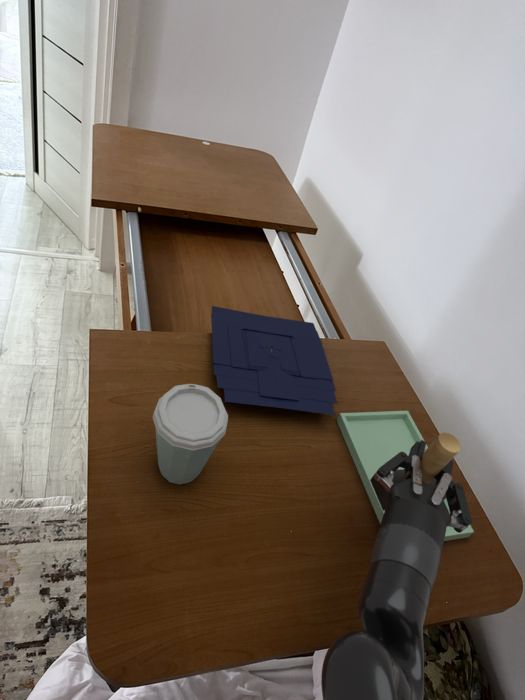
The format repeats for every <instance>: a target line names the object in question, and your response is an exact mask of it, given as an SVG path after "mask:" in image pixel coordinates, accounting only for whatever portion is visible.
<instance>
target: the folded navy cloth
mask: <svg viewBox="0 0 525 700" xmlns="http://www.w3.org/2000/svg"><path fill="white" fill-rule="evenodd" d="M210 317H211V318H210V323H211V342H212V343H211V344H212V364H213V365H212V366H213V375H214V376H215V377H216V386H217V388H218V389H223V393H224V395H223V396H224V402H225V403H235V404H243V405H251V406H259V407H268V408H269V407H270V408H277V409H278V408H279V409H285V410H286V409H287V410H293V411H301V412H307V413H316V414H324V415H331V416H336V414H335V410H334V406H333V404H338V401H337V397H336V392H337V389H336V387H335V383H334V378H333V374H332V371H331V368H330V365H329V362H328V359H327V355H326V352H325V350H324V346H323V343H322V339H321V337H320V334H319V332H318V330H317V329H316V328H317V327H316V325H315V323H314V322H310V321H304V320H303V321H302V320H295V319H290V318H289V319H288V318H282V317H277V316H276V317H274V316H268V315H263V314H262V315H261V314H257V313H251V312H246V311H241V310H236V309H231V308H225V307H220V306H216V305H211V313H210Z"/></svg>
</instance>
